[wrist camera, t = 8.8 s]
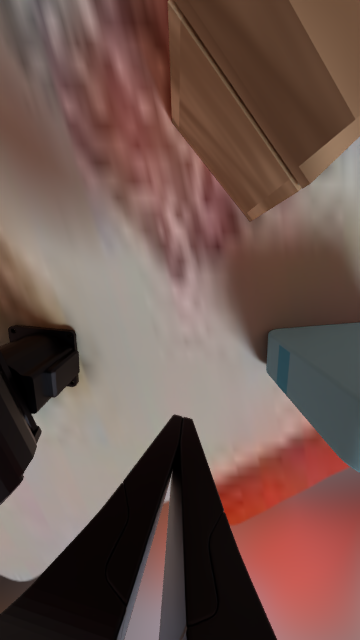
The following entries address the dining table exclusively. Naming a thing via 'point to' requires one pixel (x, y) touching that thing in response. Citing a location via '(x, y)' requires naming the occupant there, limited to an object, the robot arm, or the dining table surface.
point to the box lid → (290, 71)
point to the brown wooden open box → (222, 124)
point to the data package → (322, 380)
